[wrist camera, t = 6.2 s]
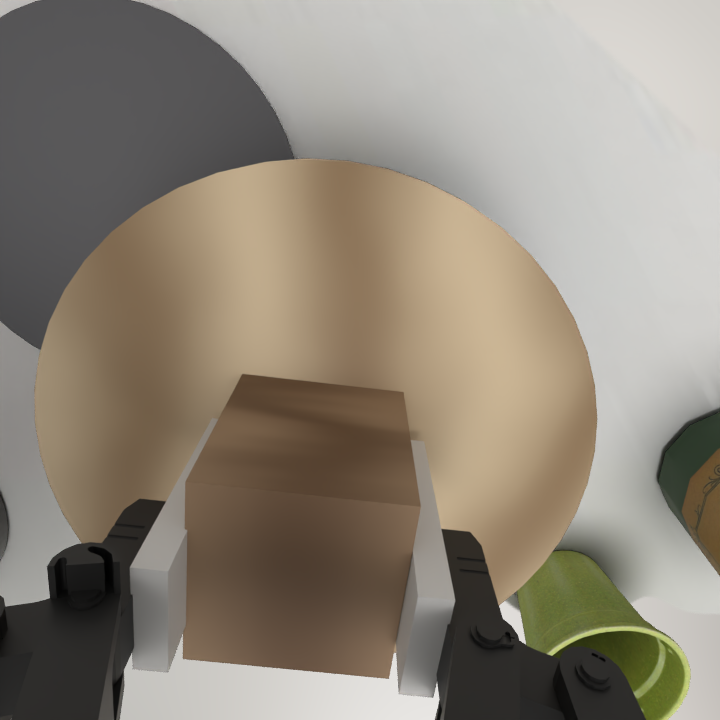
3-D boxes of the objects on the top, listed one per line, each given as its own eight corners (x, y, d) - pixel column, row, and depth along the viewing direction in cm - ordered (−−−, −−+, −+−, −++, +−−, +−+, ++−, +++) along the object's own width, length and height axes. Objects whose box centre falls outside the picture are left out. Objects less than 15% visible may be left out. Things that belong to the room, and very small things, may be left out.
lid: (69, 611, 23) (-56, 810, 16) (32, 120, 16) (-204, 105, 10) (519, 655, 23) (581, 865, 17) (652, 199, 17) (842, 237, 10)
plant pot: (511, 520, 39) (553, 618, 31) (642, 537, 40) (716, 638, 32) (479, 624, 43) (509, 737, 34) (601, 639, 43) (658, 753, 35)
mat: (-49, 351, 35) (-54, 354, 34) (-92, -37, 28) (-100, -40, 27) (283, 394, 36) (282, 397, 35) (322, 33, 29) (322, 31, 28)
